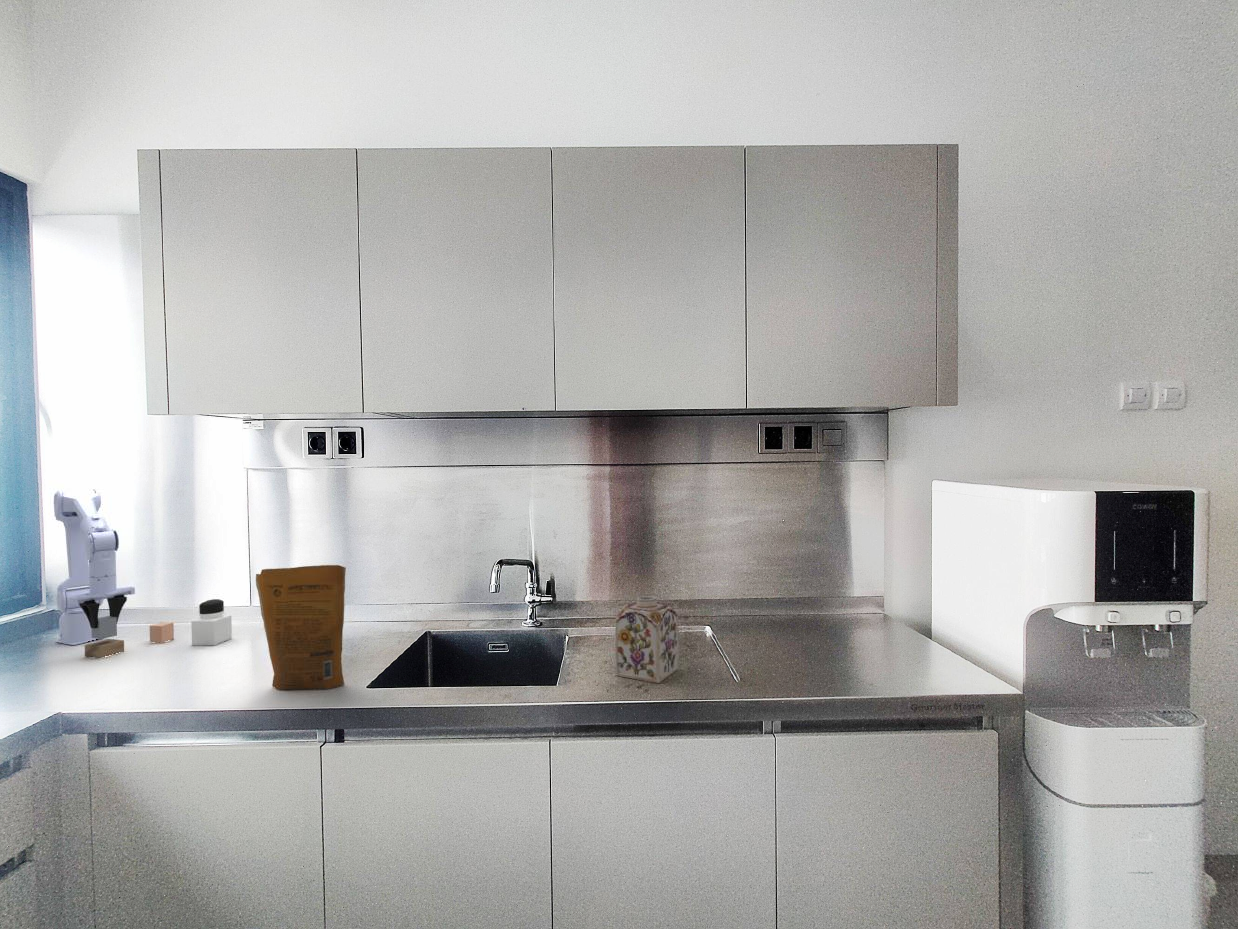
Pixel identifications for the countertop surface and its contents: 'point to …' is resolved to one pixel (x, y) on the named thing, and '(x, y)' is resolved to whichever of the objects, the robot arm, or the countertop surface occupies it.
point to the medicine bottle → (211, 624)
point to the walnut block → (104, 648)
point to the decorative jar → (646, 640)
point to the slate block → (105, 628)
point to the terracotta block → (161, 632)
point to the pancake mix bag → (304, 624)
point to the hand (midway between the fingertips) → (104, 625)
